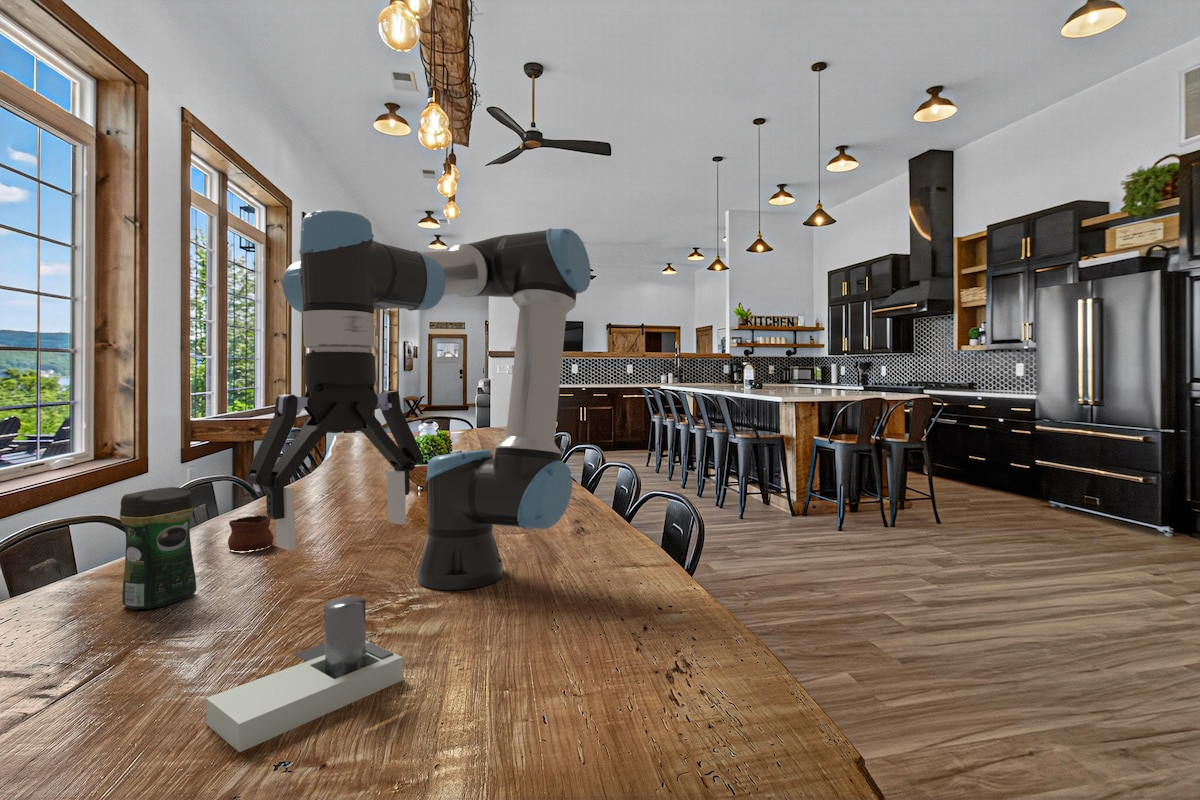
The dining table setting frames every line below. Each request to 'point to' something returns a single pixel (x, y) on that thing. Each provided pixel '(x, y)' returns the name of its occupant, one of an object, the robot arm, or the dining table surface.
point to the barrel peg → (344, 636)
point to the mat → (312, 652)
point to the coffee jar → (157, 547)
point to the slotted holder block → (296, 697)
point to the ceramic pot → (250, 533)
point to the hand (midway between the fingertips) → (345, 534)
